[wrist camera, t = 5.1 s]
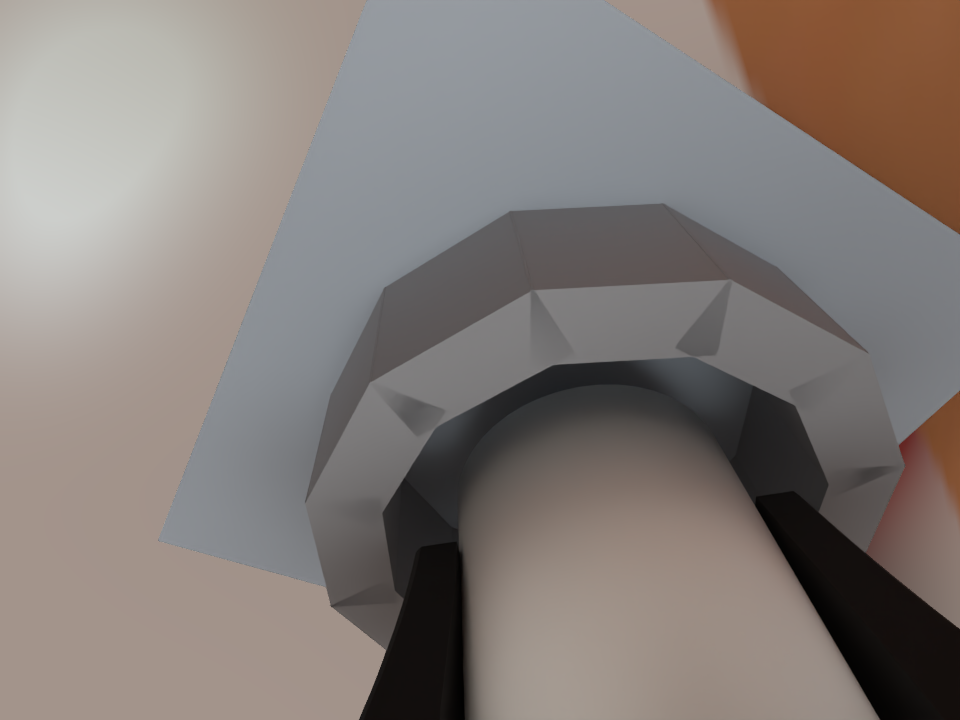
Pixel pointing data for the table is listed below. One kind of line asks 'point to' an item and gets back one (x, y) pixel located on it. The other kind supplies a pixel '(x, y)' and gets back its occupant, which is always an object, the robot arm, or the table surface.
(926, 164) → the table surface
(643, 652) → the white rounded cylinder
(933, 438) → the table surface
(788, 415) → the square flange mount
